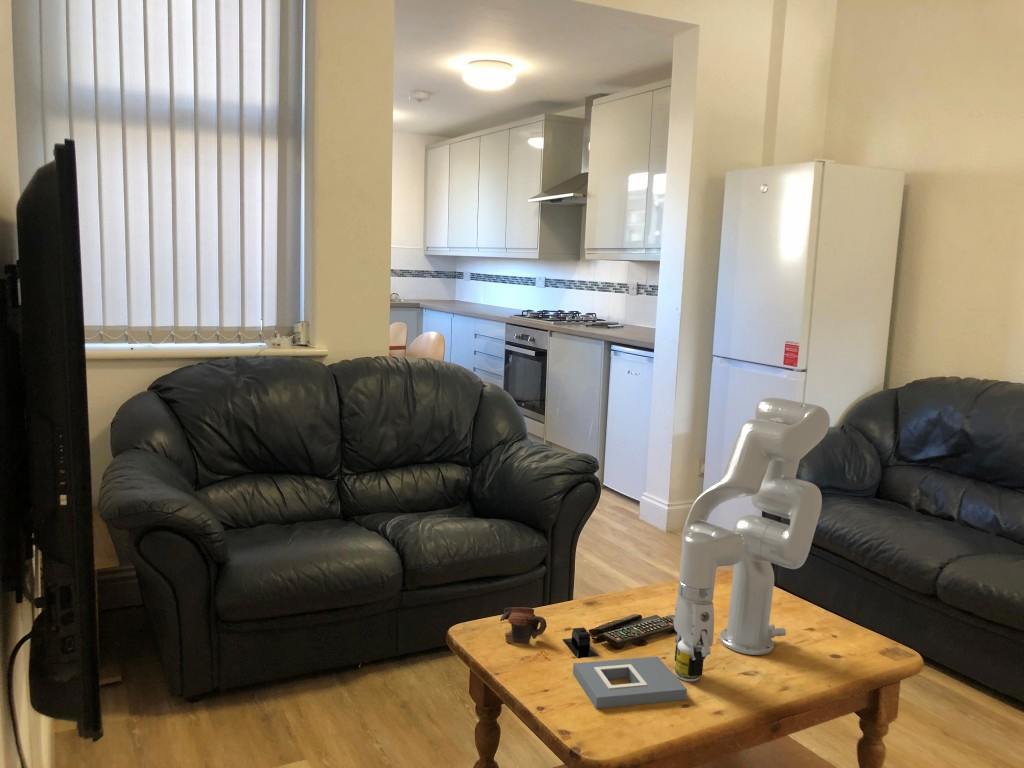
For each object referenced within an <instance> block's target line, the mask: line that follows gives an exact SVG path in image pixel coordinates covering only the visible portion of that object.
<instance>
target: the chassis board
mask: <svg viewBox="0 0 1024 768" xmlns="http://www.w3.org/2000/svg"><path fill="white" fill-rule="evenodd" d="M572 667H573V668H572V675H573V676H574V678H575V679H576V680H577V682H578V684H579V685H580V687H581V688H582V690H583V691H584V693H585V694H586V696H587V697H588V699H589V700H590V702H591V703H592V705H593V707H594V708H595V709H597V710H598V709H608V708H617V707H618V708H619V707H626V706H636V705H645V704H646V705H647V704H649V705H650V704H659V703H668V702H678V701H679V702H680V701H687V693H688V689H687V687H686V686H685V685H684V684H683V683H682V682H681V681H680V680H679V678H678V677H677V676H676V674H674V673H673V672H672V671H671V669H669V667H668V666H667V665H666V664H665V663H664V662H663V660H662V659H661V658H660V657H659V656H658V655H657V656H646V657H636V658H635V657H634V658H633V657H632V658H622V659H621V658H620V659H610V660H595V661H585V662H583V661H582V662H573V666H572ZM618 679H619V680H621V679H628V681H629V682H630V683H621V684H611V682H610V680H618Z"/></svg>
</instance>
